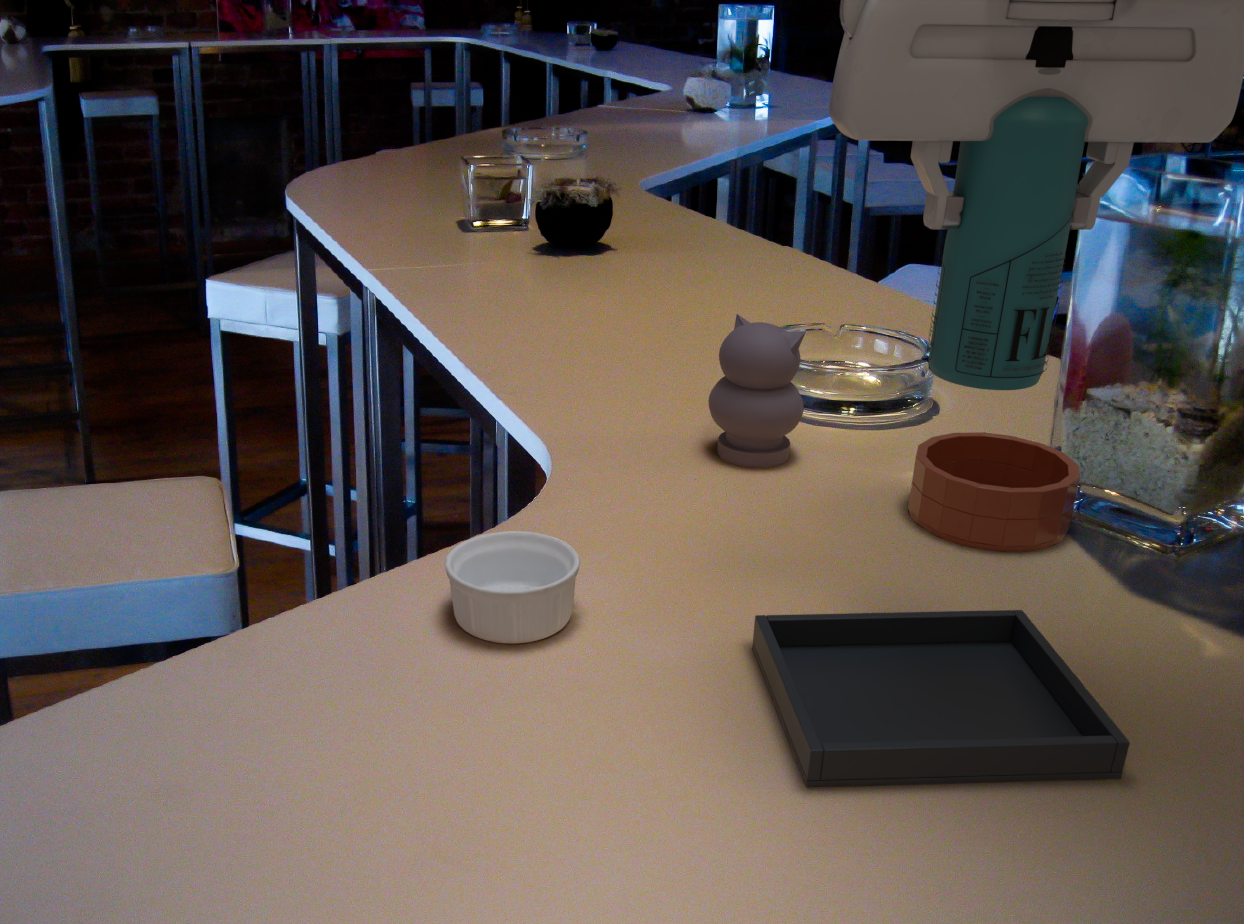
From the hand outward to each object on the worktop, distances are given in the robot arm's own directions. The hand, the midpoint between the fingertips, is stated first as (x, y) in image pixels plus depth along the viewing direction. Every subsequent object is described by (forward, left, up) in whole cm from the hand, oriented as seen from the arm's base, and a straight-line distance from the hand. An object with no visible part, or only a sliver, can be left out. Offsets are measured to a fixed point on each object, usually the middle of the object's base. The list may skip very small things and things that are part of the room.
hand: (1008, 227), depth 65 cm
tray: (+3, +5, -27) cm, 28 cm away
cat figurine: (+5, -35, -28) cm, 45 cm away
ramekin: (+27, -7, -28) cm, 39 cm away
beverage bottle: (0, 0, -10) cm, 10 cm away
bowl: (-11, -21, -27) cm, 36 cm away
